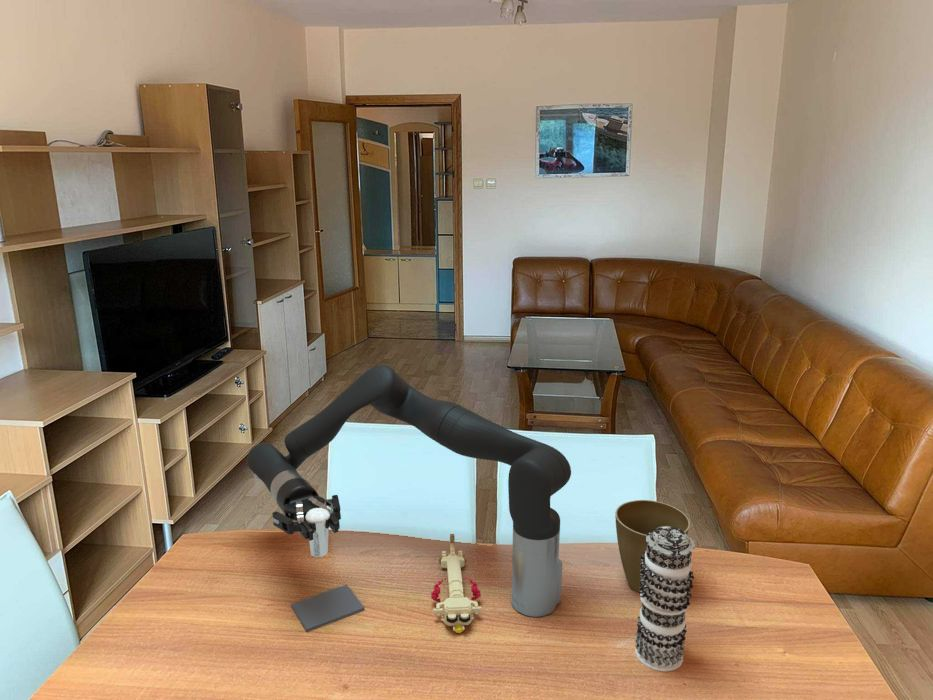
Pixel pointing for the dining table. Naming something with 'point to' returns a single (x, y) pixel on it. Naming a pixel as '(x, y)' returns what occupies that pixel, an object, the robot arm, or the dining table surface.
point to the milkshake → (318, 530)
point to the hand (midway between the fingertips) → (324, 531)
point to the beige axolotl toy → (455, 592)
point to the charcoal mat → (327, 607)
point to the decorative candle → (664, 598)
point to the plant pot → (642, 531)
